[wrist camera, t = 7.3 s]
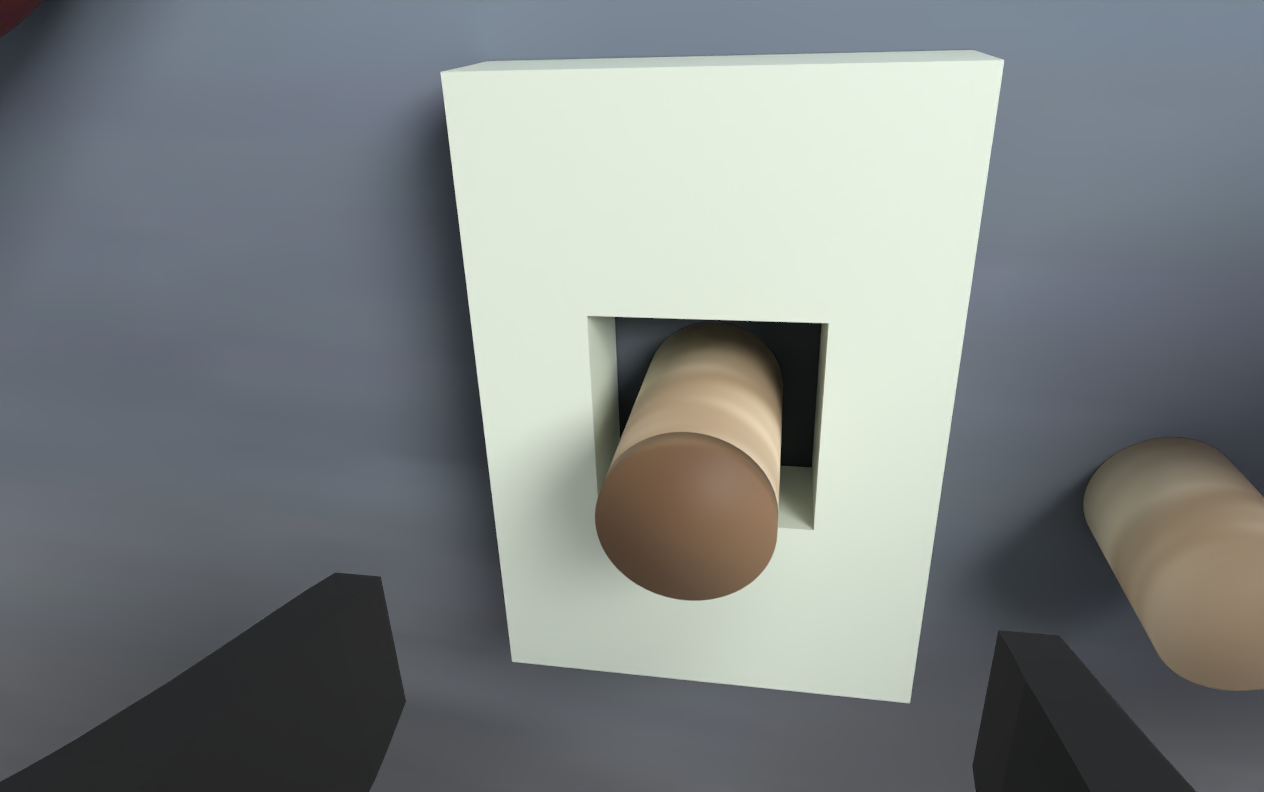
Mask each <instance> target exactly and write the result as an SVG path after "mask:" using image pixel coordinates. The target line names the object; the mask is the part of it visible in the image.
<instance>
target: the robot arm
mask: <svg viewBox="0 0 1264 792" xmlns="http://www.w3.org/2000/svg"><path fill="white" fill-rule="evenodd" d="M405 702H406V700H405V695H404V690H403V685H402V680H401V675H400V670H399V666H398V661H397V656H396V651H395V646H394V641H393V636H392V631H391V626H390V621H389V616H388V611H387V606H386V601H385V596H384V592H383V587H382V582H381V577H378V576H367V575H355V574H344V573H334V574H332V575H331V576H329V577H327V578H326V579H324V580H322V581H321V582H319V583H317V584H316V585H314V586H313V587H311V588H309V589H308V590H306V591H305V592H303V593H302V594H300V595H299V596H297V597H296V598H294V599H293V600H291V601H290V602H288V603H287V604H285V605H284V606H282V607H281V608H279V609H278V610H276V611H275V612H273V613H272V614H270V615H269V616H267V617H266V618H264V619H263V620H261V621H260V622H258V623H257V624H255V625H254V626H252V627H251V628H249V629H248V630H246V631H245V632H243V633H242V634H241V635H239V636H238V637H236V638H235V639H233V640H231V641H230V642H228V643H227V644H225V645H224V646H222V647H221V648H219V649H218V650H216V651H215V652H213V653H212V654H210V655H209V656H207V657H206V658H204V659H203V660H201V661H200V662H198V663H197V664H195V665H194V666H192V667H191V668H189V669H188V670H186V671H185V672H183V673H182V674H180V675H179V676H177V677H176V678H174V679H173V680H171V681H170V682H168V683H166V684H165V685H163V686H162V687H160V688H158V689H157V690H155V691H154V692H152V693H150V694H149V695H147V696H145V697H144V698H142V699H141V700H139V701H137V702H136V703H134V704H133V705H131V706H129V707H128V708H126V709H124V710H123V711H121V712H120V713H118V714H116V715H115V716H113V717H112V718H110V719H108V720H107V721H105V722H103V723H102V724H100V725H99V726H97V727H95V728H94V729H92V730H90V731H89V732H87V733H86V734H84V735H82V736H81V737H79V738H78V739H76V740H74V741H72V742H71V743H69V744H67V745H66V746H64V747H62V748H60V749H59V750H57V751H55V752H54V753H52V754H50V755H48V756H47V757H45V758H43V759H41V760H39V761H38V762H36V763H34V764H32V765H30V766H29V767H27V768H25V769H23V770H22V771H20V772H18V773H16V774H14V775H12V776H10V777H9V778H7V779H5V780H3V781H1V782H0V792H369V790H370V788H371V786H372V784H373V782H374V781H375V778H376V776H377V773H378V771H379V769H380V766H381V764H382V761H383V759H384V756H385V754H386V752H387V749H388V747H389V744H390V742H391V739H392V736H393V734H394V731H395V728H396V726H397V723H398V720H399V718H400V715H401V713H402V710H403V707H404V705H405ZM973 773H974V780H975V788H976V792H1196V791H1195V790H1194V789H1193V788H1192V786H1191V785H1190V784H1189V783H1188V782H1187V781H1186V780H1185V779H1184V778H1183V777H1182V776H1181V775H1180V773H1179V772H1178V771H1177V770H1176V769H1175V768H1174V767H1173V766H1172V765H1171V764H1170V762H1169V761H1168V760H1167V759H1166V758H1165V757H1164V756H1163V755H1162V754H1161V752H1160V751H1159V750H1158V749H1157V748H1156V747H1155V746H1154V745H1153V743H1152V742H1151V741H1150V740H1149V739H1148V738H1147V737H1146V735H1145V734H1144V733H1143V732H1142V731H1141V730H1140V729H1139V727H1138V726H1137V725H1136V724H1135V723H1134V722H1133V721H1132V719H1131V718H1130V717H1129V716H1128V715H1127V714H1126V713H1125V711H1124V710H1123V709H1122V708H1121V707H1120V706H1119V704H1118V703H1117V702H1116V701H1115V700H1114V699H1113V697H1112V696H1111V695H1110V694H1109V693H1108V692H1107V690H1106V689H1105V688H1104V687H1103V686H1102V685H1101V683H1100V682H1099V681H1098V680H1097V679H1096V678H1095V676H1094V675H1093V674H1092V673H1091V672H1090V671H1089V669H1088V668H1087V667H1086V666H1085V665H1084V664H1083V662H1082V661H1081V660H1080V659H1079V658H1078V657H1077V655H1076V654H1075V653H1074V652H1073V651H1072V650H1071V649H1070V647H1069V646H1068V645H1067V644H1066V643H1065V642H1064V641H1063V640H1062V639H1061V637H1060V636H1057V635H1045V634H1034V633H1022V632H1011V631H998V636H997V641H996V646H995V652H994V657H993V662H992V667H991V672H990V678H989V683H988V688H987V693H986V698H985V704H984V709H983V714H982V719H981V724H980V730H979V735H978V740H977V745H976V751H975V756H974V761H973Z"/></svg>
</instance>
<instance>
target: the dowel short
mask: <svg viewBox="0 0 1264 792" xmlns="http://www.w3.org/2000/svg"><path fill="white" fill-rule="evenodd" d="M1083 511H1084V516H1085V519H1086V522H1087V525H1088V526H1089V528H1090V530H1091V532H1092V534H1093V536H1094V537H1095V539H1096V541H1097V543H1098V545H1099V547H1100V548H1101V550H1102V552H1103V554H1104V556H1105V558H1106V559H1107V561H1108V563H1109V565H1110V567H1111V569H1112V570H1113V572H1114V574H1115V576H1116V578H1117V580H1118V581H1119V583H1120V585H1121V587H1122V589H1123V591H1124V592H1125V594H1126V596H1127V598H1128V600H1129V602H1130V604H1131V605H1132V607H1133V609H1134V611H1135V613H1136V615H1137V616H1138V618H1139V620H1140V622H1141V624H1142V626H1143V627H1144V629H1145V631H1146V633H1147V635H1148V637H1149V638H1150V640H1151V642H1152V644H1153V646H1154V648H1155V649H1156V651H1157V653H1158V655H1159V656H1160V658H1161V659H1162V660H1163V662H1164V663H1165V664H1166V665H1167V666H1168V667H1169V668H1170V669H1171V670H1172V671H1174V672H1175V673H1176V674H1178V675H1180V676H1181V677H1183V678H1185V679H1187V680H1189V681H1191V682H1193V683H1196V684H1199V685H1202V686H1205V687H1209V688H1213V689H1220V690H1229V691H1250V690H1258V689H1264V497H1263V496H1262V495H1261V494H1260V493H1259V492H1258V490H1257V489H1256V488H1255V487H1254V486H1253V485H1252V484H1251V483H1250V482H1249V481H1248V480H1247V479H1246V477H1245V476H1244V475H1243V474H1242V473H1241V472H1240V471H1239V470H1238V469H1237V468H1236V467H1235V466H1234V464H1233V463H1232V462H1231V461H1230V460H1229V459H1228V458H1227V457H1226V456H1225V455H1224V454H1223V453H1221V452H1220V451H1219V450H1217V449H1216V448H1214V447H1212V446H1210V445H1208V444H1206V443H1203V442H1200V441H1197V440H1193V439H1188V438H1180V437H1164V438H1155V439H1151V440H1146V441H1143V442H1139V443H1136V444H1134V445H1131V446H1129V447H1127V448H1125V449H1123V450H1121V451H1119V452H1118V453H1116V454H1115V455H1113V456H1112V457H1110V458H1109V459H1108V460H1107V461H1105V462H1104V463H1103V464H1102V465H1101V466H1100V467H1099V468H1098V470H1097V471H1096V472H1095V473H1094V475H1093V476H1092V478H1091V479H1090V481H1089V483H1088V485H1087V487H1086V491H1085V494H1084V500H1083Z"/></svg>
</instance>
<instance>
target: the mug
mask: <svg viewBox="0 0 1264 792" xmlns="http://www.w3.org/2000/svg"><path fill="white" fill-rule="evenodd" d="M42 1H43V0H0V37H2V36H3V35H5V34H6V33H7V32H9V31H10V30H11V29H13V28H14V27H15V26H17V25H18V24H19V23H20V22H21V21H22V20H23V19H24V18H25V17H27V16H28V15H29V14H30V13H31V12H32V11H33V10H34V9H35V8H36V7H37V6H38V5H39V4H40V3H41V2H42Z"/></svg>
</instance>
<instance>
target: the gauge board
mask: <svg viewBox="0 0 1264 792" xmlns="http://www.w3.org/2000/svg"><path fill="white" fill-rule="evenodd" d="M1003 65H1004V60H1002V59H999V58H996V57H993V56H990V55H987V54H984V53H981V52H978V51H975V50H952V51H909V52H866V53H822V54H779V55H736V56H693V57H650V58H606V59H563V60H520V61H487V62H483V63H479V64H474V65H470V66H465V67H461V68H456V69H452V70H447V71H443V72H441V80H442V88H443V96H444V104H445V113H446V121H447V129H448V137H449V146H450V154H451V162H452V170H453V178H454V187H455V195H456V203H457V211H458V220H459V228H460V236H461V244H462V253H463V261H464V269H465V277H466V286H467V294H468V302H469V310H470V319H471V327H472V335H473V343H474V352H475V360H476V368H477V376H478V384H479V393H480V401H481V409H482V417H483V426H484V434H485V442H486V450H487V459H488V467H489V475H490V483H491V492H492V500H493V508H494V516H495V525H496V533H497V541H498V549H499V557H500V566H501V574H502V582H503V590H504V599H505V607H506V615H507V623H508V632H509V640H510V648H511V656H512V662H520V663H529V664H539V665H548V666H558V667H568V668H577V669H587V670H596V671H606V672H615V673H625V674H635V675H644V676H654V677H663V678H673V679H682V680H692V681H702V682H711V683H721V684H730V685H740V686H749V687H759V688H768V689H778V690H788V691H797V692H807V693H816V694H826V695H835V696H845V697H855V698H864V699H874V700H883V701H893V702H902V703H910V699H911V692H912V685H913V679H914V672H915V665H916V658H917V651H918V645H919V638H920V631H921V624H922V617H923V610H924V604H925V597H926V590H927V583H928V576H929V570H930V563H931V556H932V549H933V542H934V536H935V529H936V522H937V515H938V508H939V501H940V495H941V488H942V481H943V474H944V467H945V461H946V454H947V447H948V440H949V433H950V426H951V420H952V413H953V406H954V399H955V392H956V386H957V379H958V372H959V365H960V358H961V352H962V345H963V338H964V331H965V324H966V317H967V311H968V304H969V297H970V290H971V283H972V277H973V270H974V263H975V256H976V249H977V242H978V236H979V229H980V222H981V215H982V208H983V202H984V195H985V188H986V181H987V174H988V168H989V161H990V154H991V147H992V140H993V133H994V127H995V120H996V113H997V106H998V99H999V93H1000V86H1001V79H1002V72H1003ZM615 317H640V318H672V319H705V320H738V321H771V322H803V323H822V326H821V340H820V355H819V369H818V384H817V398H816V413H815V428H814V442H813V457H812V467H796V466H780V481H779V507H778V532H777V542H776V547H775V550H774V553H773V555H772V558H771V560H770V562H769V563H768V565H767V567H766V568H765V569H764V571H763V572H762V573H761V574H760V575H759V576H758V577H757V578H756V579H755V580H754V581H753V582H752V583H750V584H749V585H747V586H746V587H744V588H743V589H741V590H739V591H737V592H735V593H732V594H730V595H727V596H724V597H720V598H716V599H711V600H702V601H688V600H678V599H673V598H668V597H665V596H661V595H658V594H655V593H653V592H651V591H648V590H646V589H644V588H642V587H641V586H639V585H637V584H635V583H634V582H633V581H631V580H630V579H628V578H627V577H626V576H625V575H624V574H622V573H621V572H620V571H619V570H618V569H617V568H616V567H615V566H614V564H613V563H612V562H611V561H610V559H609V558H608V556H607V555H606V553H605V552H604V550H603V548H602V546H601V544H600V541H599V538H598V535H597V531H596V526H595V508H596V503H597V499H598V495H599V493H600V490H601V488H602V485H603V483H604V480H605V477H606V475H607V472H608V470H609V467H610V465H611V462H612V460H613V457H614V455H615V452H616V450H617V447H618V444H619V442H620V424H619V401H618V377H617V354H616V331H615Z"/></svg>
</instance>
